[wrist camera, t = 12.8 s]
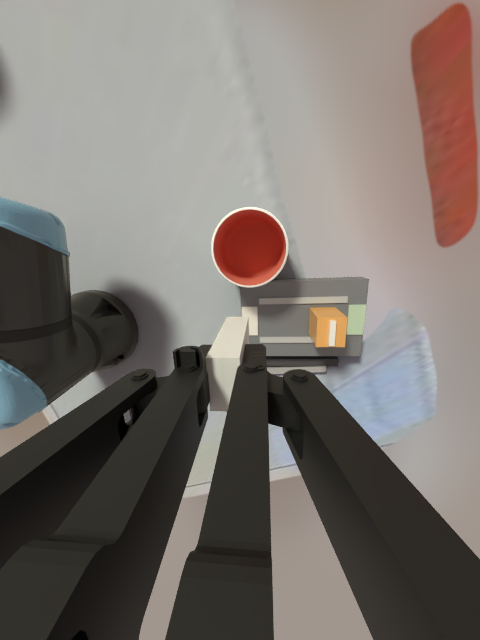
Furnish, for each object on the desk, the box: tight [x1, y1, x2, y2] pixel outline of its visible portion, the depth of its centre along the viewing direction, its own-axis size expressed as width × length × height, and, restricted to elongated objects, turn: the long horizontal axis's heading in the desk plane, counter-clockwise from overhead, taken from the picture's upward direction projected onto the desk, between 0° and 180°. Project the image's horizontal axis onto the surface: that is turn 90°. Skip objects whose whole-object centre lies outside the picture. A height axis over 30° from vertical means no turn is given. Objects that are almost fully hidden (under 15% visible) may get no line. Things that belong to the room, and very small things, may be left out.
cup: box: [211, 207, 289, 288], centre depth 36 cm, size 10×10×10 cm
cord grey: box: [267, 366, 326, 374], centre depth 46 cm, size 14×1×1 cm, turn 95°
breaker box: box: [240, 277, 369, 356], centre depth 42 cm, size 20×13×3 cm, turn 92°
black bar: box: [266, 356, 338, 366], centre depth 45 cm, size 16×1×1 cm, turn 92°
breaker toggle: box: [309, 307, 347, 347], centre depth 37 cm, size 4×4×7 cm
